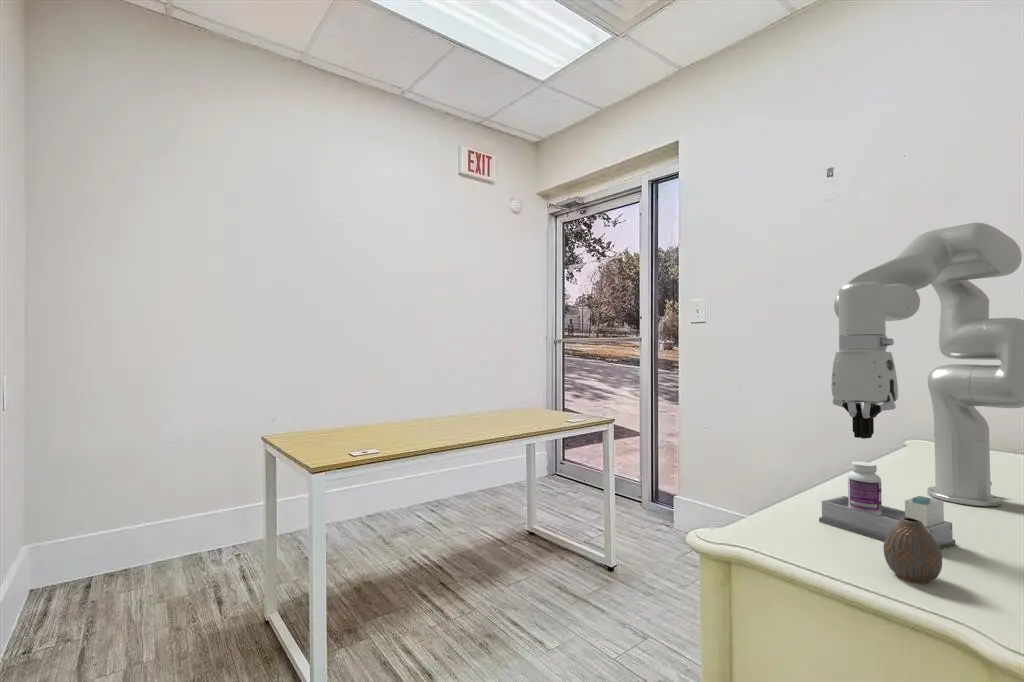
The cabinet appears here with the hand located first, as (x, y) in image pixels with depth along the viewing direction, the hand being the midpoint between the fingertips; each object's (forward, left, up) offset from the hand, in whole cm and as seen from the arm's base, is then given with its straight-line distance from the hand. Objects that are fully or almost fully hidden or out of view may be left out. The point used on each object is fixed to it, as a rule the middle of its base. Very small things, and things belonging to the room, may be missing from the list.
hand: (863, 437), depth 94 cm
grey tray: (0, +3, -18) cm, 18 cm away
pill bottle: (0, 0, -15) cm, 15 cm away
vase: (+17, +15, -18) cm, 29 cm away
